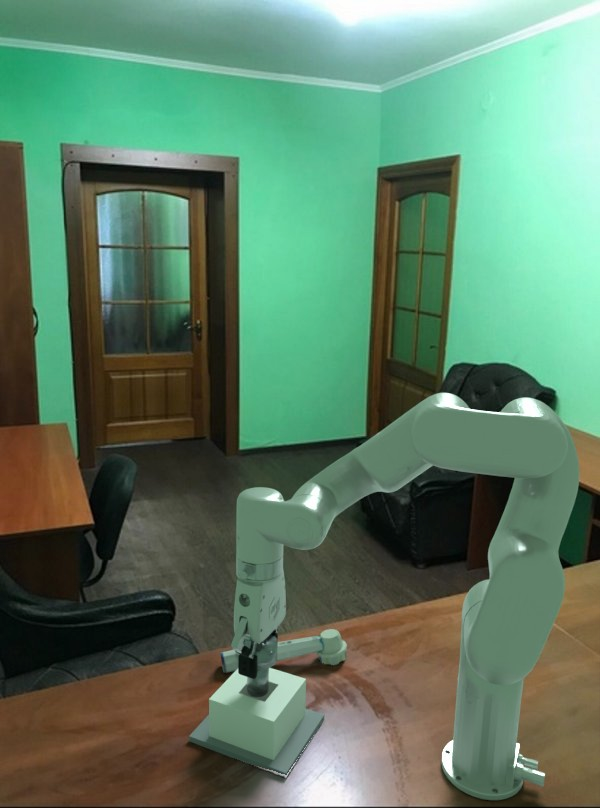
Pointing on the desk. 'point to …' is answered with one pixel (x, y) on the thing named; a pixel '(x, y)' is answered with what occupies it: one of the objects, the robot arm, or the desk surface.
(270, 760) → the hitch block
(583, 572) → the desk surface
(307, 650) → the white flashlight
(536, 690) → the desk surface
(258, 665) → the steel pin
